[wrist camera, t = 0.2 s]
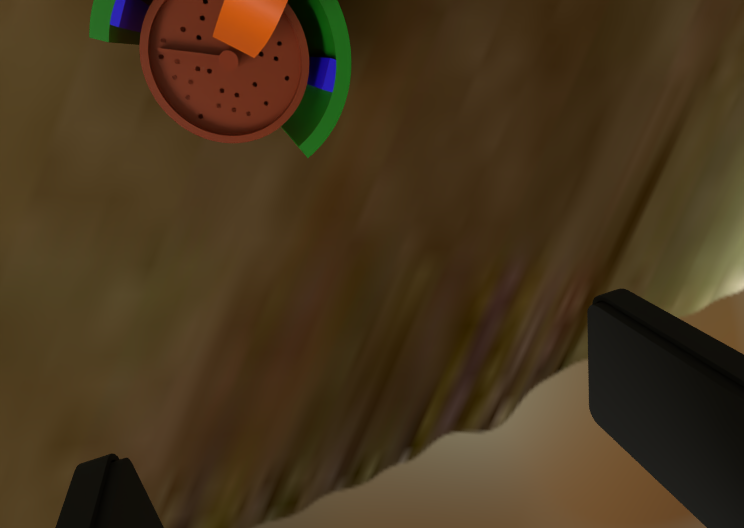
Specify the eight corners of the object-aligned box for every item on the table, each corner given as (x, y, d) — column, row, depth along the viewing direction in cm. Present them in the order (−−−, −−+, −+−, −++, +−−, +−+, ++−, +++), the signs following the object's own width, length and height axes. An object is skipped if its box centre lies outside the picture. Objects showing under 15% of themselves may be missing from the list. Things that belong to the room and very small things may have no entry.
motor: (133, 93, 34) (45, 127, 17) (156, -55, 32) (82, -202, 14) (284, 133, 38) (347, 198, 20) (315, 3, 36) (418, -56, 18)
